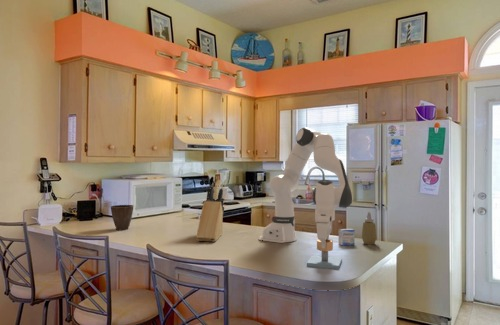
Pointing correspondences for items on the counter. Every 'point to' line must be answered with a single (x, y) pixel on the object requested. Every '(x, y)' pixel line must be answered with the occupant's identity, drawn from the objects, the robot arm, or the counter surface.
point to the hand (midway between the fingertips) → (324, 245)
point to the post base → (324, 261)
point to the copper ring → (328, 245)
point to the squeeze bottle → (369, 231)
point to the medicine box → (346, 237)
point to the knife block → (211, 217)
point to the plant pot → (122, 216)
